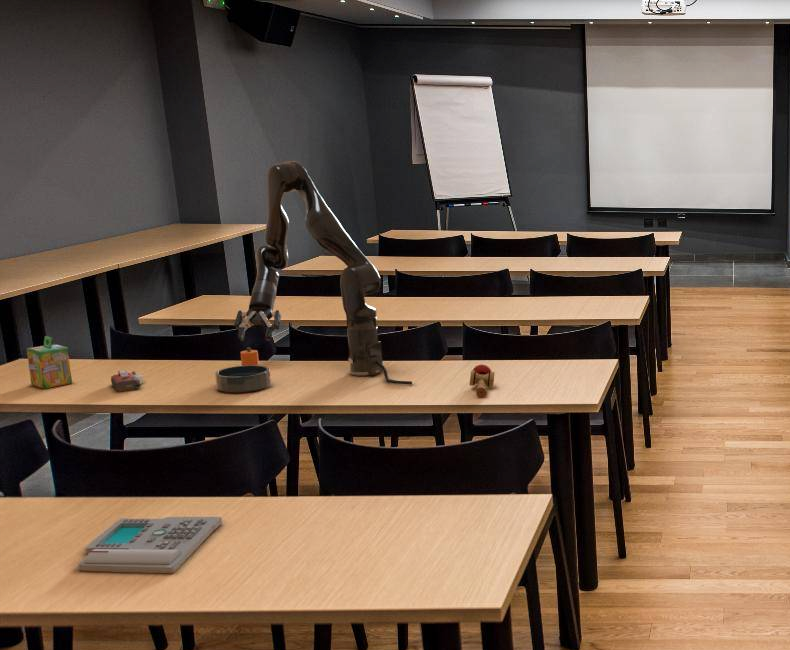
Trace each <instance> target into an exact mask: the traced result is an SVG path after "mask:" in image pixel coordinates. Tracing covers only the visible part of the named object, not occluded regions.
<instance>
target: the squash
mask: <svg viewBox="0 0 790 650" xmlns="http://www.w3.org/2000/svg"><path fill="white" fill-rule="evenodd" d="M258 351H259V350H256V349H252V348H251V347H246V349H245V350H242V351H240V360H241V366H244V365H260V362H259V352H258Z"/></svg>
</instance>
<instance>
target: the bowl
mask: <svg viewBox="0 0 790 650" xmlns="http://www.w3.org/2000/svg"><path fill="white" fill-rule="evenodd" d="M214 377H215V385H216V386H215V387H216V389H217V390H218V391H221V392H225V393H228V394H229V393H230V394H242V393H243V394H245V393H251V392H256V391H260V390H263V389H265V388H268V387H269V386H271V385H272V377H271V369H270V367H269V366H266V365H260V364H259V365H244V366H242V365H235V366H234V365H233V366H229V367H225V368H222V369H219V370H217V371H216V372H215V373H214Z"/></svg>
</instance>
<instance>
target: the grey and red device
mask: <svg viewBox="0 0 790 650" xmlns="http://www.w3.org/2000/svg"><path fill="white" fill-rule="evenodd" d="M117 373H118V374H113V375H112V376H110V382H111V385H112V386H113V388H114V389H115V391H116V392H120V393H121V392H129V391H137V390H139V389H140V387H141V385H142V384H143V383H144V380H143V376H142V374H141V373H136V371H132V372H128V371H127V370H126V369H123V370H118V371H117Z"/></svg>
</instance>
